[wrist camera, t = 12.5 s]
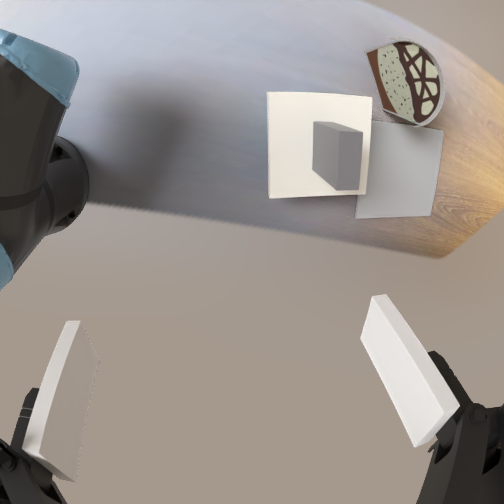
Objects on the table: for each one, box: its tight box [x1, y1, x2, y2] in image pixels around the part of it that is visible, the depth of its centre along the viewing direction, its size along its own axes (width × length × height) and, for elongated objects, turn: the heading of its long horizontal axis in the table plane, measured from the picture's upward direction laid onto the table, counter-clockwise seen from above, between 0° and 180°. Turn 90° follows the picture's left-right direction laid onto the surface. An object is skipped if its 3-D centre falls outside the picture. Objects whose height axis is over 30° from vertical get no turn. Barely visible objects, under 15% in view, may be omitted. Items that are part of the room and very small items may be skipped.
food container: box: [364, 37, 445, 127], centre depth 33 cm, size 12×6×10 cm, turn 22°
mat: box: [355, 120, 444, 219], centre depth 45 cm, size 16×16×1 cm
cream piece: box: [267, 92, 372, 199], centre depth 32 cm, size 13×13×9 cm
